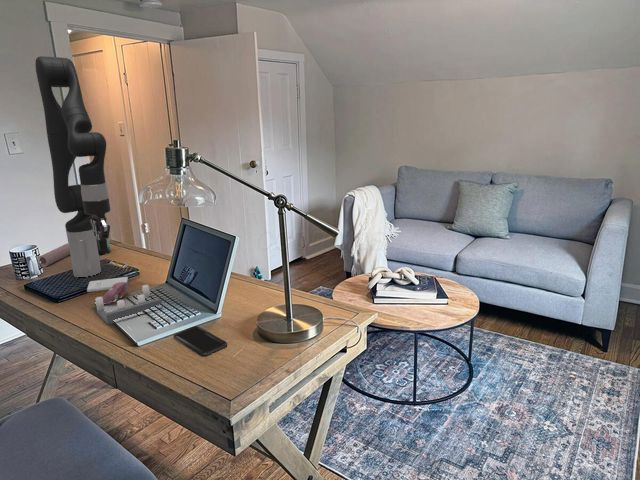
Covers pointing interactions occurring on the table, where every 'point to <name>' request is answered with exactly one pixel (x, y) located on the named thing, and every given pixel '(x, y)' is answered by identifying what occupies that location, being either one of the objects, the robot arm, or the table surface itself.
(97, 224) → the robot arm
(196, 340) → the phone
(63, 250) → the pink brown cylinder
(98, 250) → the supplement bottle
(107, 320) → the dock
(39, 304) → the table surface
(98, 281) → the external hard drive
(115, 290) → the purple rounded block
